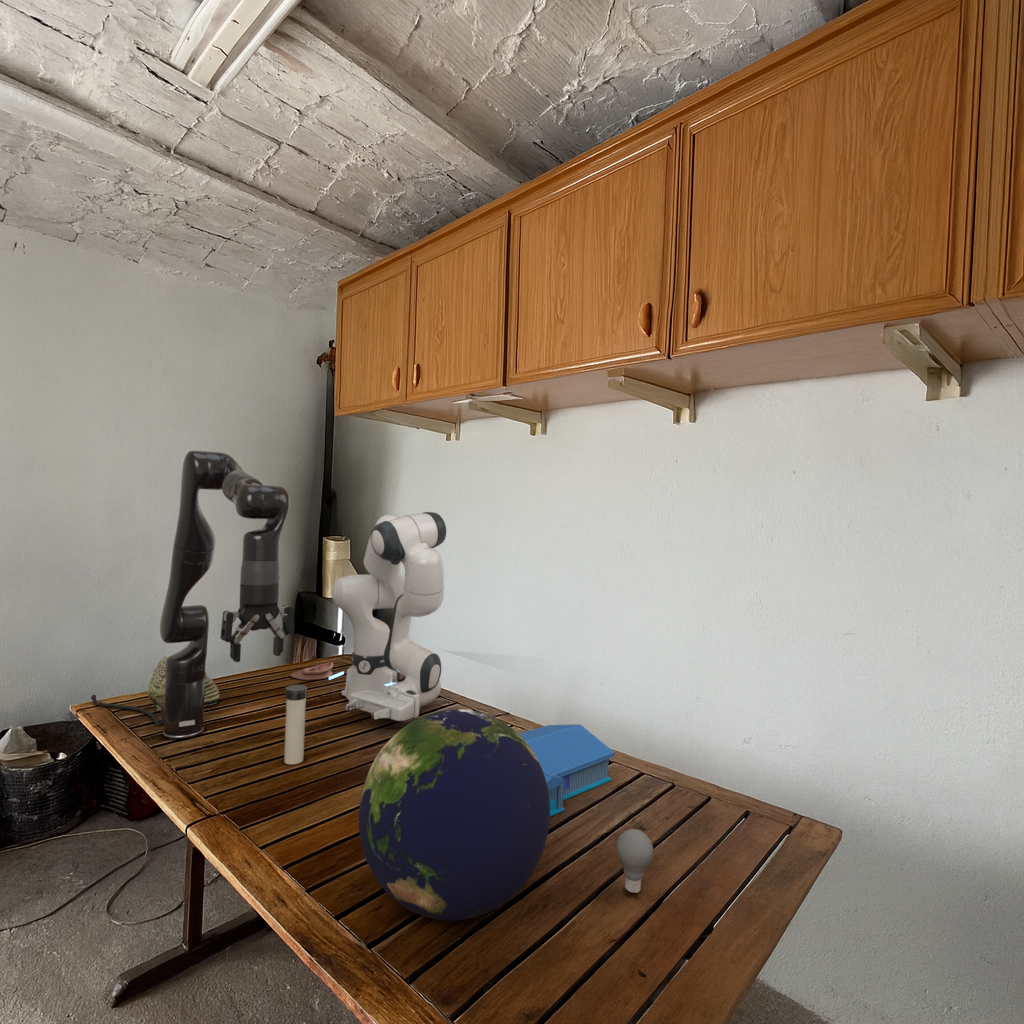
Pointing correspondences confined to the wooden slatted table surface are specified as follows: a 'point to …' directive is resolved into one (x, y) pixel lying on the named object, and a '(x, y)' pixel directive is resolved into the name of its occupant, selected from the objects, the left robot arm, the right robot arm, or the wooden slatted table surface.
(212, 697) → the fossil
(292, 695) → the lid
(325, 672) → the anatomical model
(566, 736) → the model building
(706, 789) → the wooden slatted table surface
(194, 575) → the left robot arm
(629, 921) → the wooden slatted table surface
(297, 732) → the beige tall cylinder
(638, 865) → the light bulb
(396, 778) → the globe
